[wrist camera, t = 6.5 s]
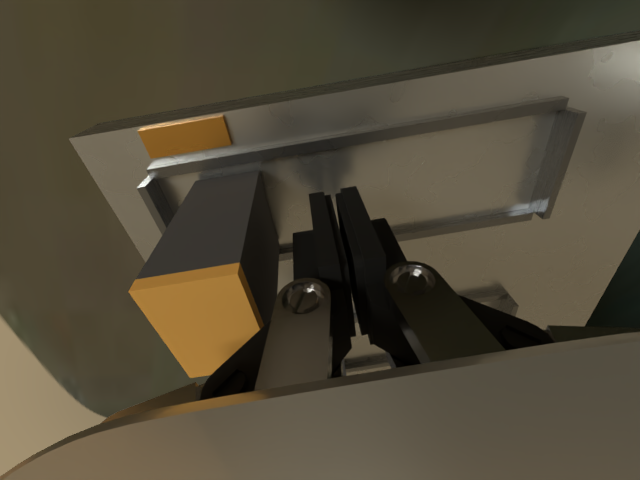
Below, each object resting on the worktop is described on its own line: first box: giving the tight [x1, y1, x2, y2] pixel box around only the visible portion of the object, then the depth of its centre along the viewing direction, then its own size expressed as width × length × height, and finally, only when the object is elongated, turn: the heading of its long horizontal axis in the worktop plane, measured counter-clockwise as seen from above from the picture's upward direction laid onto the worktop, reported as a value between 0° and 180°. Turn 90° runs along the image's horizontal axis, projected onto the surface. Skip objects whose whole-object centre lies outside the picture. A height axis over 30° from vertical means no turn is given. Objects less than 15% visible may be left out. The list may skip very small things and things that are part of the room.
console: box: [69, 30, 640, 376], centre depth 16 cm, size 24×18×3 cm
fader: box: [128, 170, 280, 378], centre depth 10 cm, size 2×4×6 cm
